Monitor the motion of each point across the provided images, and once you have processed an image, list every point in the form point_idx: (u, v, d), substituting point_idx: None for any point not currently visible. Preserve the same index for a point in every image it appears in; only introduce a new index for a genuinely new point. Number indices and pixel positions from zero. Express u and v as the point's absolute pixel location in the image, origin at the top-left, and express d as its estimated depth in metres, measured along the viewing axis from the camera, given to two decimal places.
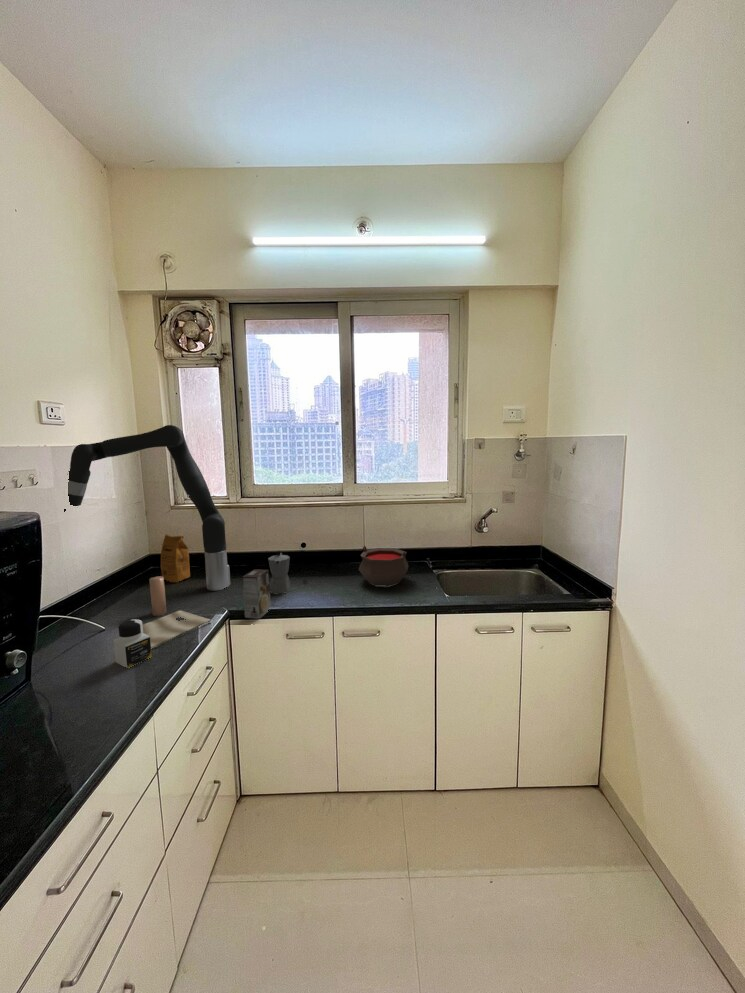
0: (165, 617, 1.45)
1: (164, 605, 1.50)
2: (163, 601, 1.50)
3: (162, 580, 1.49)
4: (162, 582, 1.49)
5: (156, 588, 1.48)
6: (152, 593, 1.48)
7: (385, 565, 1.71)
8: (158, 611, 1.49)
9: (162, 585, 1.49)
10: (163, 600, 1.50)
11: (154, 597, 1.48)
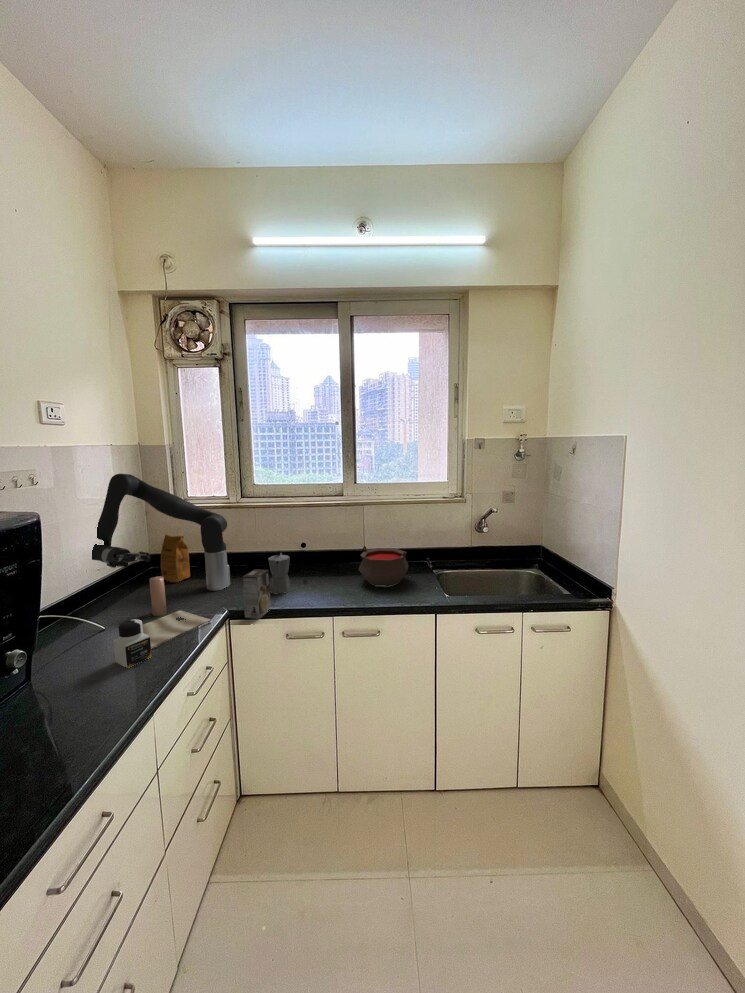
0: (165, 617, 1.45)
1: (164, 605, 1.50)
2: (163, 601, 1.50)
3: (162, 580, 1.49)
4: (162, 582, 1.49)
5: (156, 588, 1.48)
6: (152, 593, 1.48)
7: (385, 565, 1.71)
8: (158, 611, 1.49)
9: (162, 585, 1.49)
10: (163, 600, 1.50)
11: (154, 597, 1.48)
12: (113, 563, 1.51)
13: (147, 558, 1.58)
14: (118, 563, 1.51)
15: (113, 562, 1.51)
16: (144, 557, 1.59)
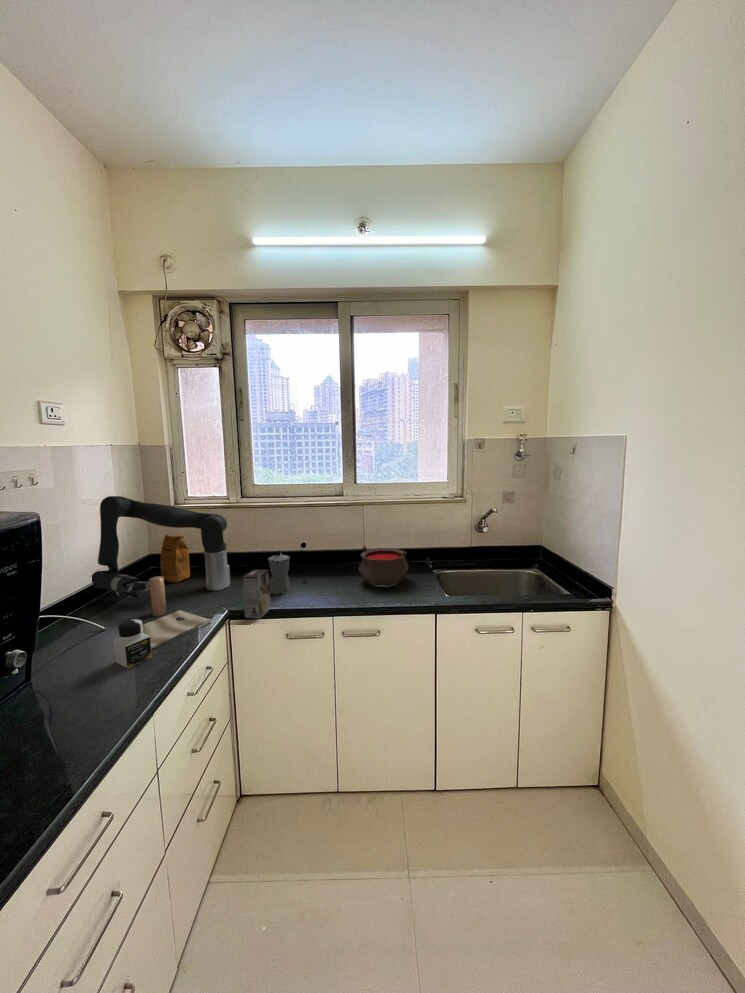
0: (165, 617, 1.45)
1: (164, 605, 1.50)
2: (163, 601, 1.50)
3: (162, 580, 1.49)
4: (162, 582, 1.49)
5: (156, 588, 1.48)
6: (152, 593, 1.48)
7: (385, 565, 1.71)
8: (158, 611, 1.49)
9: (162, 585, 1.49)
10: (163, 600, 1.50)
11: (154, 597, 1.48)
12: (123, 594, 1.50)
13: None
14: (128, 593, 1.50)
15: (123, 593, 1.50)
16: None
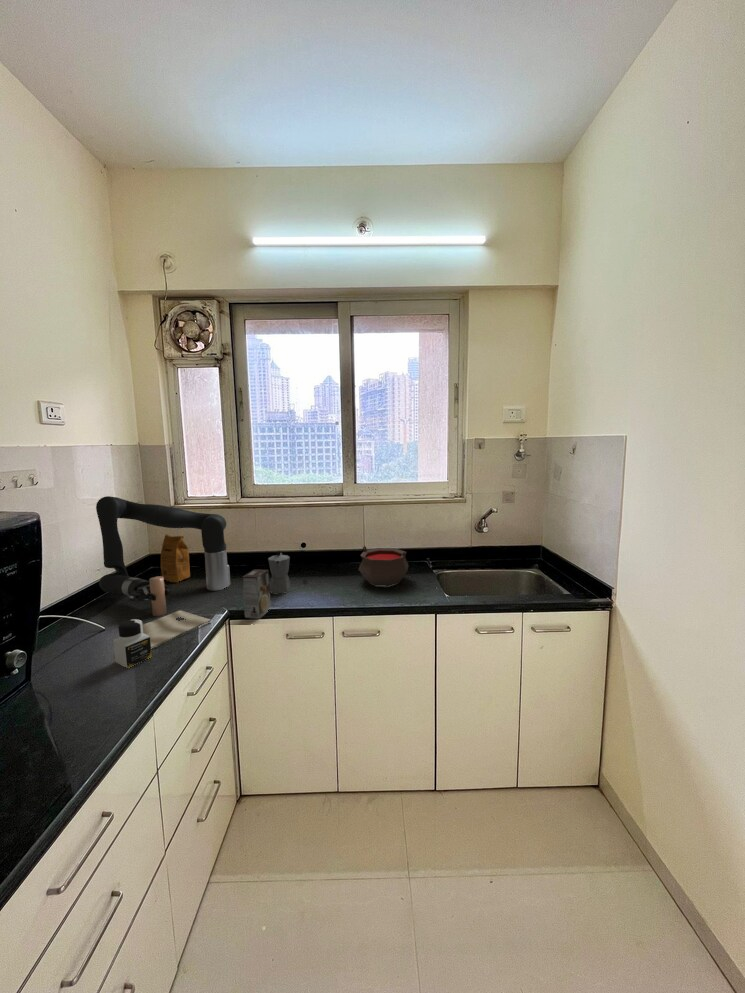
0: (165, 617, 1.45)
1: (164, 605, 1.50)
2: (163, 601, 1.50)
3: (162, 580, 1.49)
4: (162, 582, 1.49)
5: (156, 588, 1.48)
6: (152, 593, 1.48)
7: (385, 565, 1.71)
8: (158, 611, 1.49)
9: (162, 585, 1.49)
10: (163, 600, 1.50)
11: None
12: (140, 596, 1.47)
13: (167, 592, 1.51)
14: (145, 596, 1.47)
15: (141, 595, 1.47)
16: None
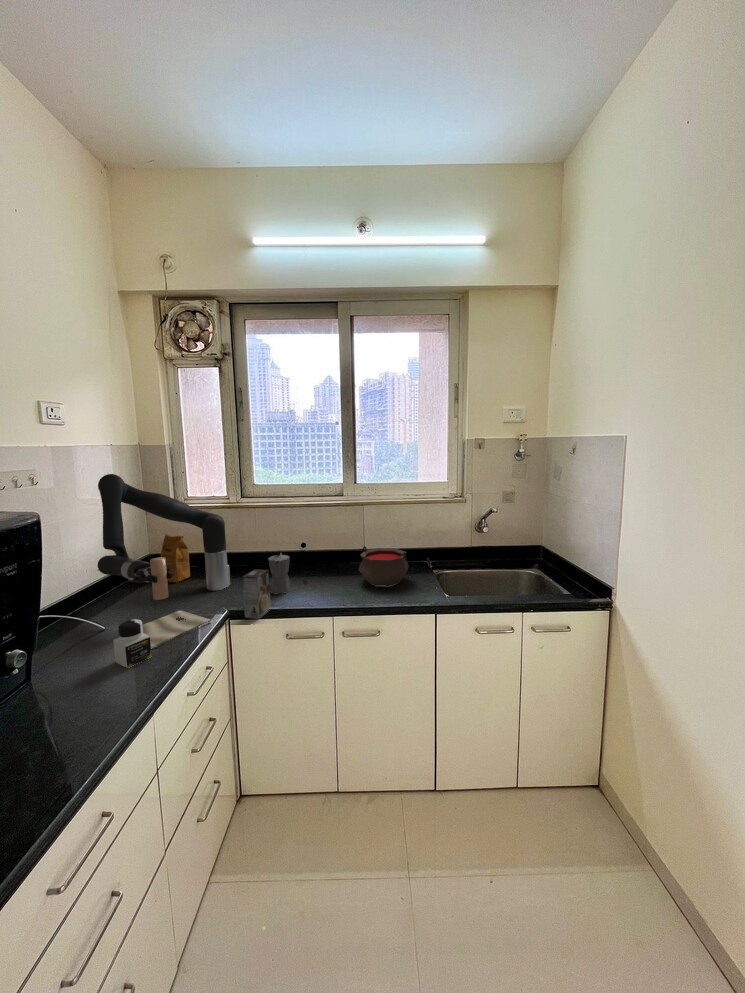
0: (165, 617, 1.45)
1: (166, 588, 1.39)
2: (165, 584, 1.39)
3: (164, 561, 1.38)
4: (163, 564, 1.38)
5: (157, 570, 1.37)
6: (153, 575, 1.37)
7: (385, 565, 1.71)
8: (160, 595, 1.38)
9: (164, 566, 1.38)
10: (165, 583, 1.39)
11: None
12: (141, 578, 1.36)
13: (169, 574, 1.40)
14: (146, 578, 1.36)
15: (141, 577, 1.36)
16: None
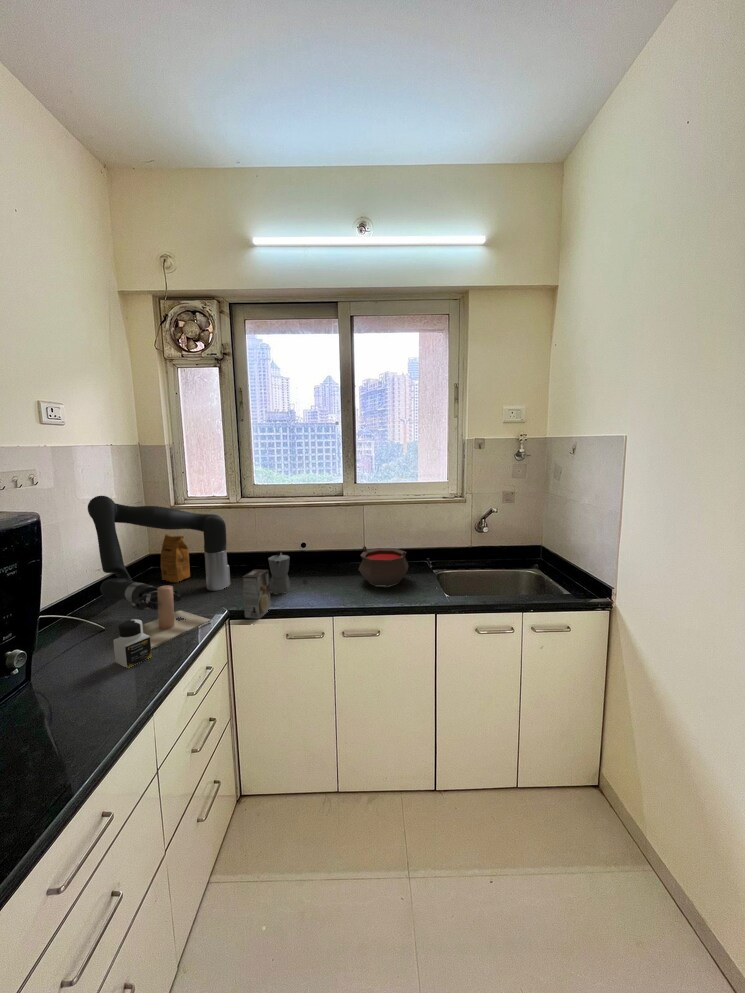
0: None
1: (172, 617, 1.36)
2: (171, 613, 1.36)
3: (171, 590, 1.35)
4: (171, 593, 1.35)
5: (164, 599, 1.33)
6: (160, 604, 1.34)
7: (385, 565, 1.71)
8: (166, 624, 1.35)
9: (171, 595, 1.35)
10: (171, 612, 1.36)
11: (162, 609, 1.34)
12: (141, 605, 1.31)
13: (177, 597, 1.38)
14: (146, 605, 1.32)
15: (141, 604, 1.31)
16: (173, 596, 1.39)
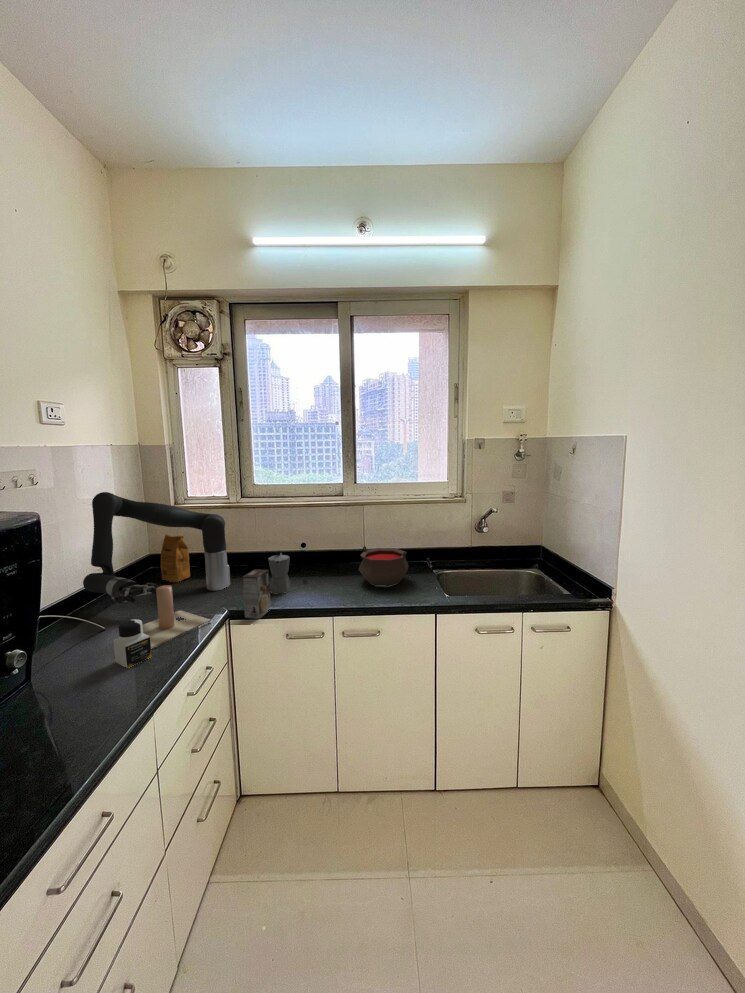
0: None
1: (172, 617, 1.36)
2: (171, 613, 1.36)
3: (170, 590, 1.35)
4: (170, 592, 1.35)
5: (163, 599, 1.34)
6: (159, 604, 1.34)
7: (385, 565, 1.71)
8: (166, 624, 1.35)
9: (170, 595, 1.35)
10: (171, 612, 1.36)
11: (162, 608, 1.34)
12: (119, 598, 1.38)
13: None
14: (124, 598, 1.39)
15: (119, 597, 1.38)
16: (152, 590, 1.46)
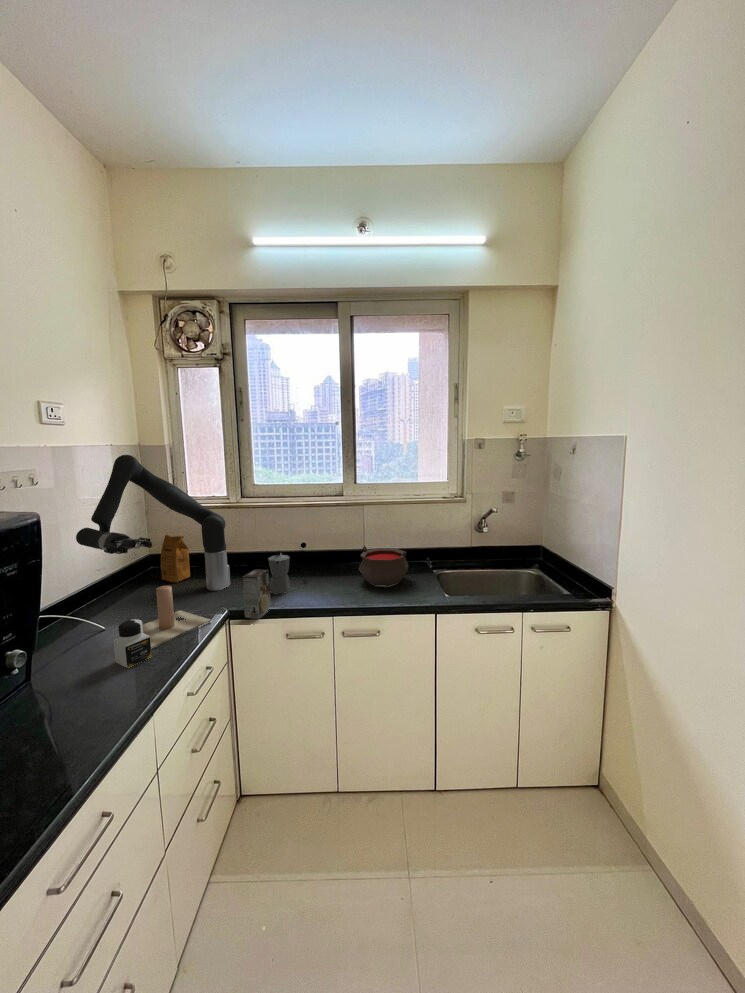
0: None
1: (172, 617, 1.36)
2: (171, 613, 1.36)
3: (170, 590, 1.35)
4: (170, 592, 1.35)
5: (163, 599, 1.33)
6: (159, 604, 1.34)
7: (385, 565, 1.71)
8: (166, 624, 1.35)
9: (170, 595, 1.35)
10: (171, 612, 1.36)
11: (162, 609, 1.34)
12: (111, 549, 1.37)
13: (148, 544, 1.44)
14: (116, 549, 1.37)
15: (111, 548, 1.37)
16: (145, 543, 1.45)
